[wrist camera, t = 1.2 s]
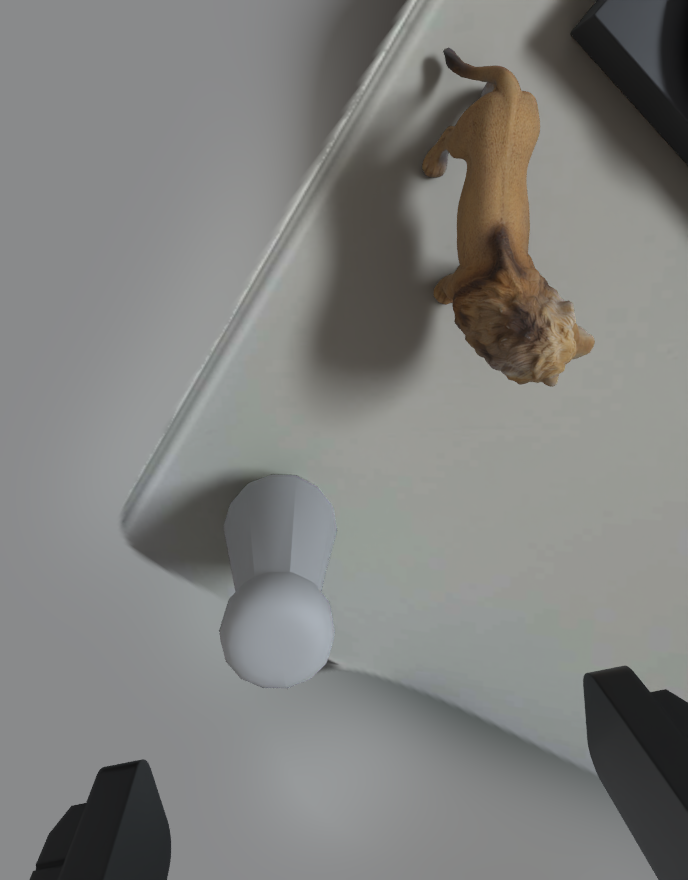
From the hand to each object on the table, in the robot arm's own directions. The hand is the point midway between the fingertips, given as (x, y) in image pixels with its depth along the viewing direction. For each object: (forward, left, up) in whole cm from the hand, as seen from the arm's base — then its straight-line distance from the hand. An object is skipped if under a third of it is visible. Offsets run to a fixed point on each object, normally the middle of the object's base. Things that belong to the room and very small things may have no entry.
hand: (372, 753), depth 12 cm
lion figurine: (0, +13, -24) cm, 27 cm away
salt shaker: (+2, -5, -24) cm, 24 cm away
